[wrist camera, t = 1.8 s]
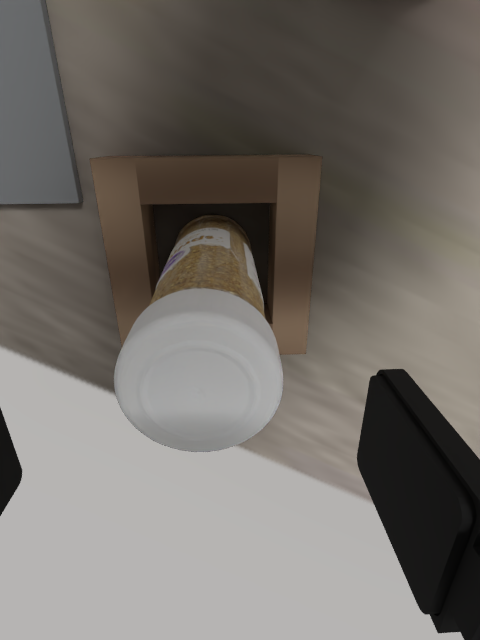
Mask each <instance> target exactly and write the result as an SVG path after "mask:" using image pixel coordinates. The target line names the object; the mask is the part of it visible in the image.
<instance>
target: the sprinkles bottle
mask: <svg viewBox="0 0 480 640" xmlns="http://www.w3.org/2000/svg"><path fill="white" fill-rule="evenodd" d="M114 388H115V393H116V397H117V400H118V403H119V405H120V407H121V409H122V411H123V413H124V414H125V416H126V417H127V419H128V420H129V421H130V422H131V423H132V424H133V425H134V426H135V427H136V428H137V429H138V430H139V431H140V432H141V433H143V434H144V435H146V436H147V437H149V438H150V439H152V440H153V441H155V442H158V443H160V444H162V445H165V446H168V447H171V448H175V449H178V450H184V451H191V452H210V451H217V450H222V449H226V448H229V447H232V446H235V445H238V444H240V443H242V442H244V441H246V440H248V439H249V438H251V437H253V436H254V435H256V434H257V433H258V432H259V431H261V430H262V429H263V428H264V427H265V426H266V425H267V423H268V422H269V421H270V420H271V418H272V417H273V415H274V414H275V412H276V410H277V408H278V406H279V403H280V401H281V397H282V392H283V371H282V365H281V360H280V355H279V350H278V346H277V342H276V338H275V336H274V333H273V331H272V329H271V327H270V325H269V324H268V322H267V321H266V319H265V314H264V302H263V297H262V292H261V288H260V284H259V280H258V276H257V272H256V268H255V263H254V259H253V256H252V253H251V244H250V241H249V239H248V237H247V234H246V232H245V231H244V230H243V229H242V228H241V226H240V225H239V224H238V223H237V222H235V221H234V220H232V219H230V218H228V217H225V216H221V215H210V214H209V215H203V216H200V217H197V218H195V219H193V220H192V221H191V222H189V223H188V224H186V225H185V226H184V227H183V228H182V230H181V231H180V232H179V234H178V237H177V239H176V242H175V247H174V249H173V250H172V252H171V254H170V256H169V259H168V261H167V263H166V265H165V267H164V270H163V272H162V274H161V277H160V279H159V281H158V283H157V286H156V290H155V293H154V295H153V297H152V300H151V302H150V305H149V306H148V307H147V308H146V309H145V310H144V311H143V312H142V313H141V315H140V316H139V317H138V318H137V320H136V321H135V323H134V324H133V326H132V328H131V330H130V332H129V334H128V336H127V338H126V340H125V342H124V344H123V347H122V349H121V351H120V354H119V356H118V359H117V362H116V367H115V372H114Z"/></svg>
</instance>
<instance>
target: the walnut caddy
mask: <svg viewBox="0 0 480 640" xmlns="http://www.w3.org/2000/svg"><path fill="white" fill-rule="evenodd" d="M90 164H91V170H92V176H93V182H94V187H95V193H96V199H97V205H98V211H99V217H100V222H101V228H102V234H103V240H104V246H105V252H106V258H107V263H108V269H109V275H110V281H111V287H112V293H113V298H114V304H115V310H116V316H117V322H118V328H119V333H120V339H121V345H122V347H123V344H124V342H125V340H126V338H127V336H128V334H129V332H130V330H131V328H132V326H133V324H134V323H135V321H136V320H137V318H138V317H139V316H140V315H141V313H142V312H143V311H144V310H145V309H146V308H147V307H148V306H149V305H150V302H151V300H152V297H153V295H154V293H155V290H156V286H157V283H158V281H159V279H160V269H159V260H158V251H157V242H156V232H155V223H154V214H153V204H214V203H270V216H269V251H268V287H267V303H264V314H265V319H266V321H267V322H268V324H269V325H270V327H271V329H272V331H273V333H274V336H275V338H276V342H277V346H278V350H279V355H284V354H306V345H307V333H308V321H309V309H310V298H311V286H312V274H313V262H314V250H315V238H316V226H317V215H318V203H319V191H320V179H321V167H322V157H321V156H315V155H309V154H307V155H189V156H106V157H98V158H91V159H90Z"/></svg>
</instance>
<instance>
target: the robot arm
mask: <svg viewBox="0 0 480 640" xmlns="http://www.w3.org/2000/svg"><path fill="white" fill-rule="evenodd" d="M357 462H358V467H359V470H360V473H361V475H362V477H363V480H364V482H365V484H366V486H367V489H368V491H369V493H370V496H371V498H372V500H373V503H374V505H375V507H376V510H377V512H378V514H379V517H380V519H381V521H382V523H383V526H384V528H385V530H386V533H387V535H388V537H389V540H390V542H391V544H392V546H393V549H394V551H395V553H396V555H397V558H398V560H399V563H400V565H401V567H402V570H403V572H404V574H405V576H406V579H407V581H408V583H409V586H410V588H411V590H412V593H413V595H414V597H415V600H416V602H417V604H418V606H419V608H420V610H421V611H422V612H423V613H424V614H430V616H431V619H432V621H433V623H434V625H435V627H436V630H437V632H438V633H447V632H461V634H462V636H463V638H464V640H480V459H479V458H478V457H477V456H476V454H475V453H474V452H473V451H472V450H471V448H470V447H469V446H468V445H467V444H466V443H465V441H464V440H463V439H462V438H461V437H460V435H459V434H458V433H457V432H456V431H455V429H454V428H453V427H452V426H451V425H450V423H449V422H448V421H447V420H446V419H445V417H444V416H443V415H442V414H441V413H440V411H439V410H438V409H437V408H436V407H435V405H434V404H433V403H432V402H431V401H430V400H429V398H428V397H427V396H426V395H425V394H424V392H423V391H422V390H421V389H420V388H419V386H418V385H417V384H416V383H415V382H414V380H413V379H412V378H411V377H410V376H409V374H408V373H407V372H406V371H405V370H404V369H385V370H379V371H378V372H377V375H376V376H371V378H370V382H369V388H368V394H367V400H366V406H365V412H364V418H363V423H362V429H361V435H360V441H359V447H358V453H357ZM21 478H22V468H21V465H20V463H19V460H18V457H17V454H16V451H15V448H14V446H13V443H12V440H11V437H10V434H9V431H8V428H7V425H6V422H5V420H4V417H3V414H2V411H1V408H0V516H1V514H2V512H3V511H4V509H5V507H6V506H7V504H8V502H9V501H10V499H11V497H12V496H13V494H14V492H15V490H16V489H17V487H18V486H19V484H20V481H21Z"/></svg>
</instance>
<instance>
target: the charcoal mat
mask: <svg viewBox="0 0 480 640" xmlns="http://www.w3.org/2000/svg"><path fill="white" fill-rule="evenodd" d="M81 202H83V199H82V193H81V188H80V183H79V177H78V172H77V167H76V161H75V156H74V150H73V145H72V140H71V134H70V129H69V124H68V118H67V113H66V108H65V102H64V97H63V92H62V86H61V81H60V76H59V70H58V65H57V60H56V54H55V49H54V44H53V38H52V33H51V28H50V22H49V17H48V11H47V6H46V1H45V0H0V204H54V203H81Z"/></svg>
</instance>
